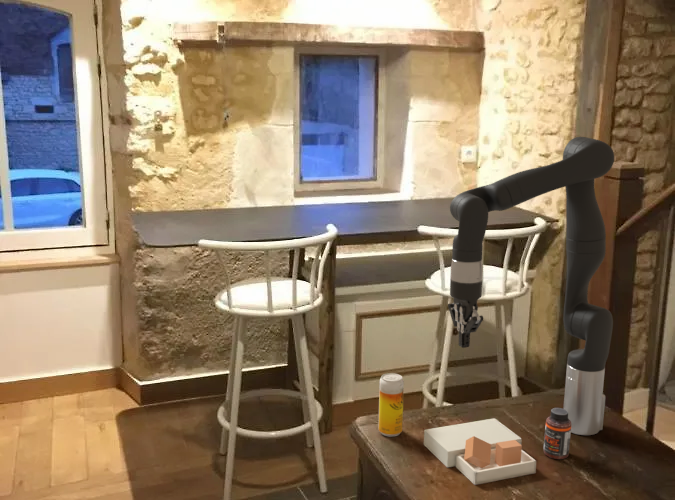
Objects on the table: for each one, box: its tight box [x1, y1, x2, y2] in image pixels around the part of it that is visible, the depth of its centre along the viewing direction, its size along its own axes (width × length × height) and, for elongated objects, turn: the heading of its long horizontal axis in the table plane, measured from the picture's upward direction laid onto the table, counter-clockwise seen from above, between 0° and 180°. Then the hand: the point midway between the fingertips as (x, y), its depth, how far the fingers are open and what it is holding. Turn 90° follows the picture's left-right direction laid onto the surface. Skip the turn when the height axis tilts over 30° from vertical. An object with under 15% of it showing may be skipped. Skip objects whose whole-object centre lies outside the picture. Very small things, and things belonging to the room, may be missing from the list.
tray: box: [455, 448, 537, 486], centre depth 173 cm, size 16×8×3 cm, turn 110°
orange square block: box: [464, 436, 491, 468], centre depth 173 cm, size 5×5×3 cm
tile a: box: [495, 440, 523, 467], centre depth 175 cm, size 5×5×3 cm
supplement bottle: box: [543, 407, 572, 460], centre depth 180 cm, size 6×6×11 cm
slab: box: [423, 417, 522, 468], centre depth 183 cm, size 20×12×4 cm, turn 110°
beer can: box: [377, 372, 405, 438], centre depth 190 cm, size 6×6×15 cm
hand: (463, 346), depth 182 cm, fingers closed
